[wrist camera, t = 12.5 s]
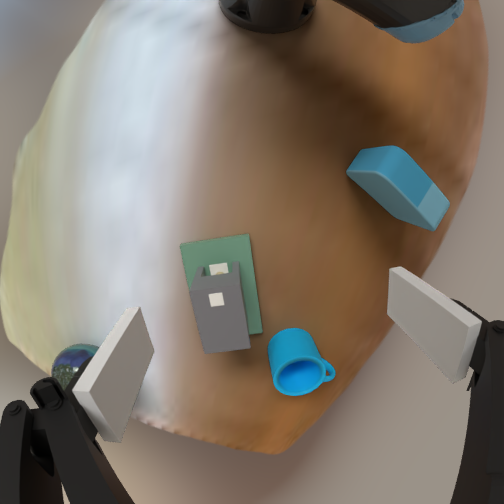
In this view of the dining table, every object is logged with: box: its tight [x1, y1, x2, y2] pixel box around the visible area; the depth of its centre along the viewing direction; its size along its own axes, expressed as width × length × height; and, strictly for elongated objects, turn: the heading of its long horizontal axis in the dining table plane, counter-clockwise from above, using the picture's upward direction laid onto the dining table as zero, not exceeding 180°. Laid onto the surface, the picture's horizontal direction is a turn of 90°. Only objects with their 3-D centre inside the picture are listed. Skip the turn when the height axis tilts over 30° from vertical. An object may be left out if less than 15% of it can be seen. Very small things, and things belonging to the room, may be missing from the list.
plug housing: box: [189, 261, 251, 354], centre depth 39 cm, size 9×6×9 cm, turn 8°
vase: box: [51, 344, 100, 390], centre depth 41 cm, size 15×15×13 cm
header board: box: [180, 234, 263, 335], centre depth 42 cm, size 16×10×4 cm, turn 8°
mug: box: [268, 328, 336, 396], centre depth 45 cm, size 12×8×8 cm
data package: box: [346, 145, 450, 231], centre depth 36 cm, size 12×4×12 cm, turn 55°
